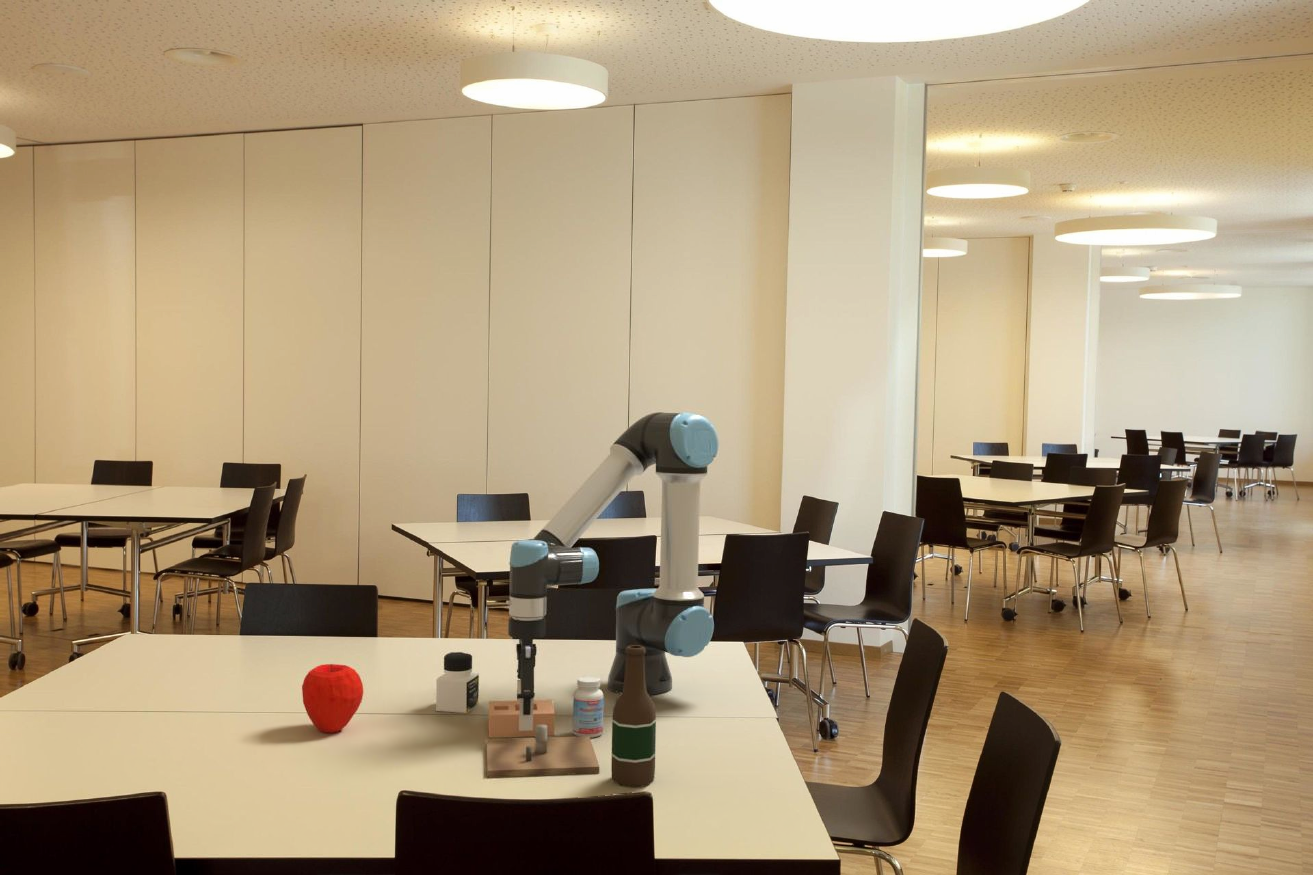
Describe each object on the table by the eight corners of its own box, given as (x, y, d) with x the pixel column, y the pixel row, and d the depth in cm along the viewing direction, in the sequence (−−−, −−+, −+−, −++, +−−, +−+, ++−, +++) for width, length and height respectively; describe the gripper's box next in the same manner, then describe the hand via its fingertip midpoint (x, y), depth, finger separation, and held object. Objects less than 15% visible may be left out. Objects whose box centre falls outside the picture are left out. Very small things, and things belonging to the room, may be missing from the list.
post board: (589, 742, 217) (589, 710, 217) (599, 772, 200) (599, 739, 200) (486, 745, 214) (487, 713, 214) (487, 777, 197) (487, 742, 196)
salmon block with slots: (551, 720, 231) (551, 699, 231) (554, 735, 221) (554, 713, 221) (488, 722, 229) (488, 701, 229) (489, 737, 219) (489, 715, 219)
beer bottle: (610, 772, 200) (612, 641, 199) (653, 772, 201) (655, 641, 200) (612, 788, 192) (614, 651, 191) (656, 787, 193) (659, 651, 192)
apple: (374, 725, 226) (374, 660, 226) (340, 741, 215) (340, 673, 215) (325, 718, 230) (325, 655, 230) (289, 734, 219) (289, 667, 218)
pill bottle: (580, 740, 219) (580, 684, 218) (568, 731, 224) (568, 676, 224) (607, 736, 221) (608, 680, 221) (595, 728, 227) (596, 673, 226)
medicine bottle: (467, 713, 235) (467, 658, 235) (435, 711, 237) (436, 655, 236) (479, 704, 242) (479, 650, 242) (448, 702, 244) (448, 648, 243)
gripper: (507, 605, 236) (504, 703, 237) (510, 629, 212) (507, 738, 212) (542, 605, 237) (539, 703, 238) (549, 629, 213) (546, 738, 213)
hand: (524, 720), depth 225 cm, fingers open, 13 cm apart
